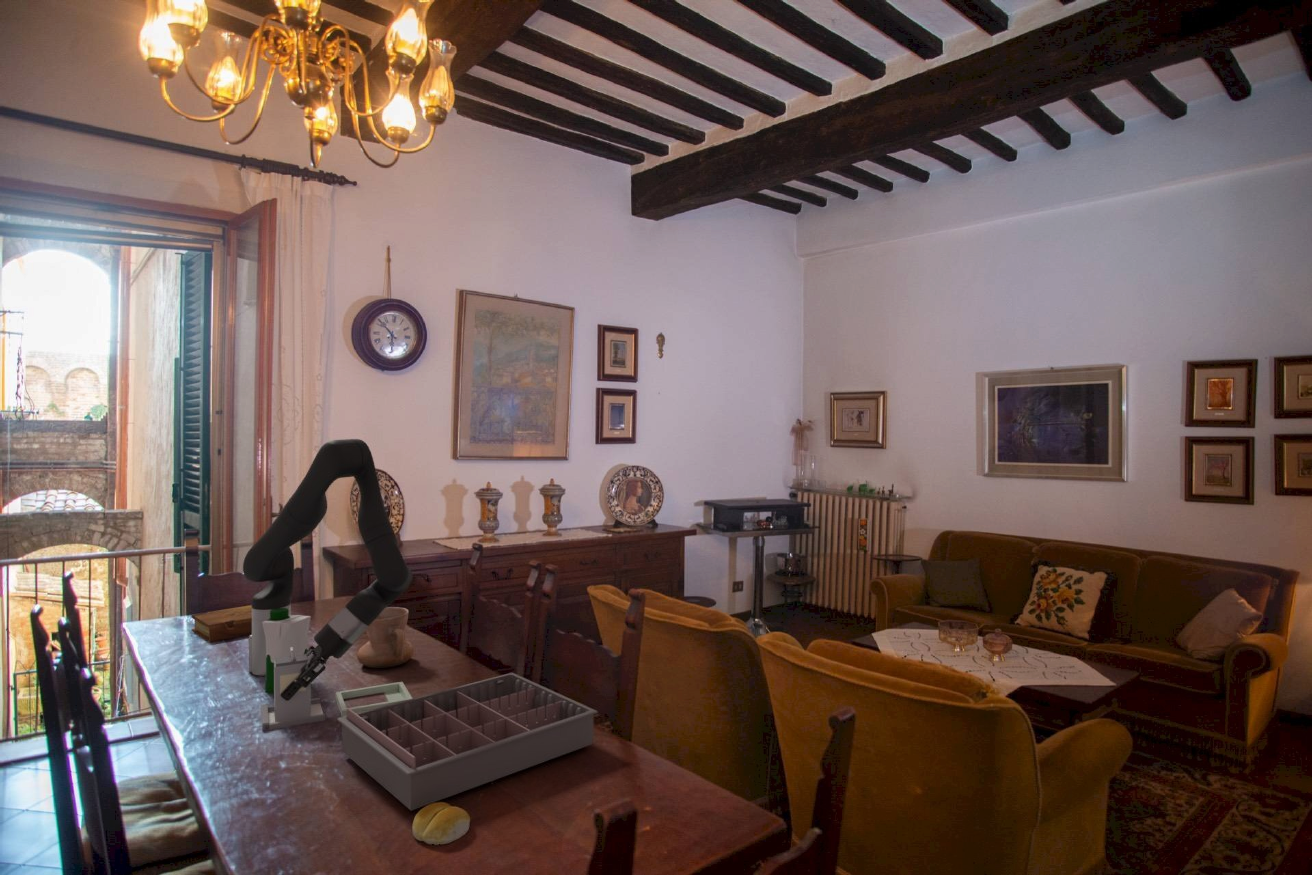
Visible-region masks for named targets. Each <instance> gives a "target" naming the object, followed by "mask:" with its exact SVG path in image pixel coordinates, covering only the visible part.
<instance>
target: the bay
mask: <svg viewBox="0 0 1312 875" xmlns="http://www.w3.org/2000/svg"><path fill="white" fill-rule="evenodd" d="M321 705H322V704H321V698H320V697H314V698H311V716H308V717H303V718H297V719H291V720H285V721H279V722H275V717H274V704H273V705H268V703H264V704H260V712H261V713H260V714H261V715H260V716H261V729H262V732H265V731H271V730H276V729H282V728H289V727H293V726H298V725H303V724H310V723H315V722H322V721H325V720H326V717H325V716H326V715H325V713H324V712H323V710H322V706H321Z"/></svg>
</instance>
